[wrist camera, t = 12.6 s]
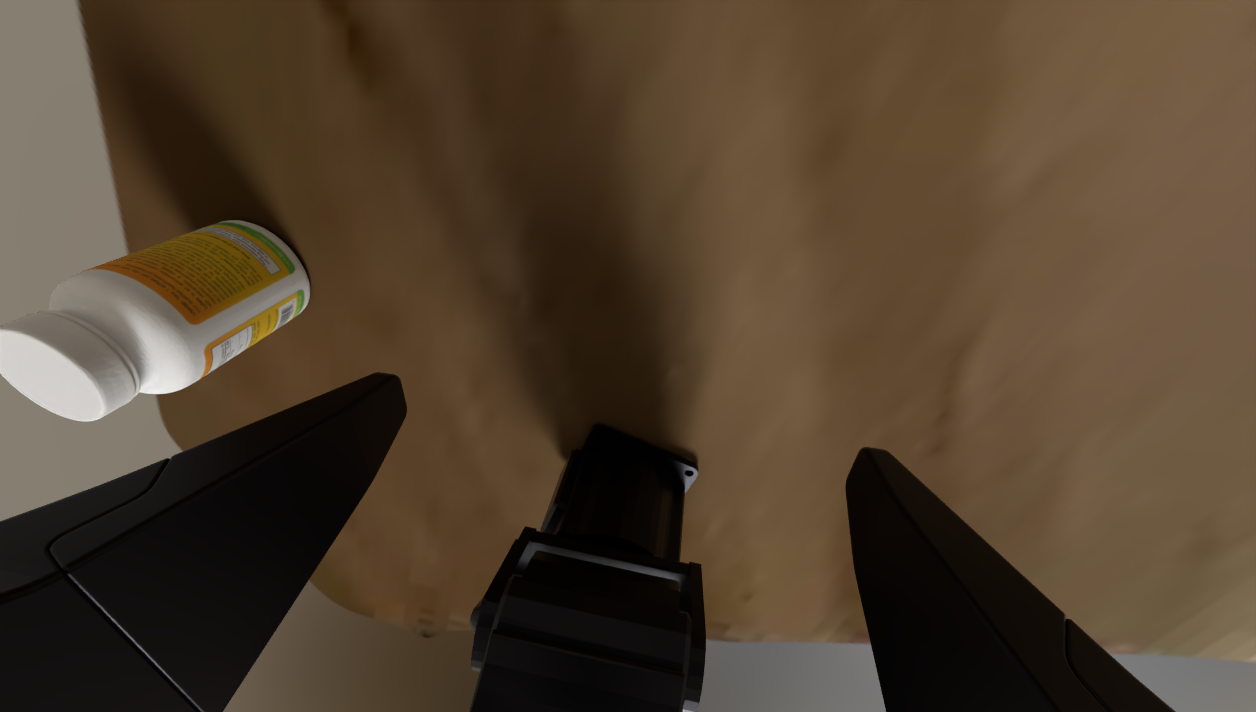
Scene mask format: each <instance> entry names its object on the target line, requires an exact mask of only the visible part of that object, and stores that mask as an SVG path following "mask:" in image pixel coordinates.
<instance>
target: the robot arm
mask: <svg viewBox="0 0 1256 712" xmlns="http://www.w3.org/2000/svg"><path fill="white" fill-rule="evenodd" d="M406 413H407V405H406V401H405V397H404V393H403V388H402V384H401V381H400V379H399V377H398V376H396V375H394V374H387V373H380V372H377V373H373V374H371V375H369V376H366V377H364V378H361V379H359V380H356V381H354V382H351V383H349V384H347V385H344V386H342V387H339V388H337V389H334V390H332V391H330V392H327V393H325V394H322V395H320V396H317V397H315V398H312V399H310V400H308V401H305V402H303V403H300V404H298V405H295V406H293V407H291V408H288V409H286V410H283V411H281V412H278V413H276V414H273V415H271V416H269V417H266V418H264V419H261V420H259V421H256V422H254V423H252V424H249V425H247V426H244V427H242V428H239V429H237V430H234V431H232V432H230V433H227V434H225V435H222V436H220V437H217V438H215V439H212V440H210V441H208V442H205V443H203V444H200V445H198V446H195V447H193V448H191V449H188V450H186V451H183V452H181V453H178V454H176V455H174V456H172V457H171V459H169V458H166V459H164V460H161V461H159V462H157V463H154V464H151V465H149V466H147V467H144V468H142V469H139V470H137V471H134V472H132V473H129V474H127V475H124V476H122V477H119V478H116V479H114V480H111V481H109V482H107V483H104V484H101V485H99V486H96V487H94V488H91V489H88V490H85V491H83V492H80V493H77V494H74V495H72V496H69V497H66V498H64V499H61V500H58V501H56V502H53V503H50V504H47V505H45V506H42V507H39V508H36V509H34V510H31V511H28V512H25V513H22V514H20V515H17V516H14V517H11V518H9V519H6V520H3V521H0V712H223V711H224V709H225V707H226V706H227V704H228V703H229V701H230V700H231V698H232V697H233V695H234V693H235V692H236V691H237V689H238V687H239V686H240V684H241V683H242V681H243V680H244V678H245V677H246V675H247V674H248V672H249V671H250V669H251V667H252V666H253V664H254V663H255V661H256V660H257V658H258V657H259V655H260V654H261V652H262V651H263V649H264V648H265V646H266V645H267V643H268V642H269V640H270V638H271V637H272V635H273V634H274V632H275V631H276V629H277V628H278V626H279V625H280V623H281V622H282V620H283V618H284V617H285V615H286V614H287V612H288V610H289V609H290V608H291V606H292V605H293V603H294V601H295V600H296V599H297V597H298V595H299V594H300V592H301V591H302V589H303V588H304V586H305V585H306V583H307V582H308V580H309V579H310V577H311V576H312V574H313V573H314V571H315V569H316V568H317V566H318V565H319V563H320V562H321V560H322V559H323V557H324V556H325V554H326V553H327V551H328V550H329V548H330V546H331V545H332V543H333V542H334V540H335V539H336V537H337V536H338V534H339V533H340V531H341V530H342V528H343V527H344V525H345V523H346V522H347V520H348V519H349V517H350V516H351V514H352V513H353V511H354V510H355V508H356V507H357V505H358V504H359V502H360V500H361V499H362V497H363V496H364V494H365V493H366V491H367V490H368V488H369V486H370V485H371V483H372V481H373V480H374V478H375V476H376V474H377V472H378V470H379V468H380V467H381V465H382V463H383V461H384V459H385V457H386V455H387V453H388V451H389V449H390V447H391V445H392V443H393V441H394V439H395V437H396V435H397V433H398V431H399V429H400V427H401V425H402V423H403V421H404V419H405V417H406ZM597 432H598V433H601V434H602V435H599V434H597ZM687 470H691V471H687ZM697 476H698V466H697V465H696V464H695V463H693V462H691V461H688V460H686V459H684V458H681V457H679V456H676V455H674V454H671V453H669V452H667V451H664V450H662V449H659V448H657V447H654V446H652V445H650V444H647V443H645V442H642V441H640V440H638V439H635V438H633V437H630V436H628V435H625V434H623V433H621V432H618V431H616V430H613V429H611V428H608V427H606V426H604V425H600V424H597V425H594V426H593V427H592V428H591V430H590V432H589V434H588V436H587V438H586V440H585V442H584V444H583V446H582V448H581V450H578V449H575V450H573V451H572V452H571V454H570V456H569V458H568V460H567V462H566V465H565V467H564V469H563V471H562V473H561V475H560V477H559V480H558V483H557V486H556V488H555V491H554V494H553V497H552V499H551V502H550V505H549V507H548V510H547V513H546V516H545V518H544V521H543V524H542V527H541V532H540V531H536V529H535V528H530V527H526V526H525V528H524V530H523V531H522V533H521V535H520V537H519V539H516V540H515V542H514V543H513V545H512V547H511V549H510V550H509V552H508V554H507V556H506V558H505V559H504V561H503V563H502V565H501V567H500V568H499V570H498V572H497V574H496V576H495V577H494V579H493V581H492V583H491V585H490V586H489V588H488V590H487V592H486V594H485V595H484V597H483V598H482V599H481V601H480V602H479V603H478V604H477V606H476V607H475V608H474V610H473V612H472V614H471V618H470V625H471V627H472V629H473V632H474V634H475V635H474V644H473V650H472V658H471V667H472V670H473V671H477V672H480V674H479V678H478V681H477V685H476V689H475V693H474V697H473V700H472V704H471V708H470V712H697V710H698V706H699V701H700V696H701V690H702V683H703V675H704V665H705V652H706V629H705V614H704V600H703V585H702V571H701V564H698V563H693V562H689V564H688V563H684V562H680V552H681V538H682V524H683V511H684V497H685V493H686V491H687V490H688V489H689V487H690V486H691V484H692V483H693V482H694V480H695V479H696V478H697ZM846 499H847V508H848V518H849V527H850V537H851V547H852V556H853V563H854V569H855V574H856V580H857V584H858V589H859V593H860V597H861V602H862V606H863V611H864V615H865V620H866V624H867V628H868V633H869V637H870V642H871V646H872V651H873V655H874V659H875V664H876V668H877V673H878V677H879V682H880V686H881V691H882V695H883V699H884V704H885V708H886V712H1175V711H1174V710H1173V709H1172V708H1170V707H1169V706H1168V705H1167V704H1166V703H1165V702H1163V701H1162V700H1161V699H1160V698H1159V697H1157V696H1156V695H1155V694H1154V693H1153V692H1152V691H1150V690H1149V689H1148V688H1147V687H1146V686H1145V685H1143V684H1142V683H1141V682H1140V681H1139V680H1137V679H1136V678H1135V677H1134V676H1133V675H1132V674H1131V673H1130V672H1128V671H1127V670H1126V669H1125V668H1124V667H1123V666H1122V665H1121V664H1120V663H1118V662H1117V661H1116V660H1115V659H1114V658H1113V657H1112V656H1111V655H1110V654H1108V653H1107V652H1106V651H1105V650H1104V649H1103V648H1102V647H1101V646H1099V645H1098V644H1097V643H1096V642H1095V641H1094V640H1093V639H1092V638H1091V637H1090V636H1088V635H1087V634H1086V633H1085V632H1084V631H1083V630H1082V629H1081V628H1080V627H1079V626H1078V625H1077V624H1075V623H1074V622H1073V621H1072V620H1071V619H1066V615H1065V614H1064V613H1063V612H1062V611H1061V610H1060V609H1059V608H1058V607H1057V606H1056V605H1055V604H1053V603H1052V602H1051V601H1050V600H1049V599H1048V598H1047V597H1046V596H1045V595H1044V594H1043V593H1042V592H1040V591H1039V590H1038V589H1037V588H1036V587H1035V586H1034V585H1033V584H1032V583H1031V582H1030V581H1028V580H1027V579H1026V578H1025V577H1024V576H1023V575H1022V574H1021V573H1020V572H1019V571H1018V570H1017V569H1015V568H1014V567H1013V566H1012V565H1011V564H1010V563H1009V562H1008V561H1007V560H1006V559H1005V558H1003V557H1002V556H1001V555H1000V554H999V553H998V552H997V551H996V550H995V549H994V548H993V547H991V546H990V545H989V544H988V543H987V542H986V541H985V540H984V539H983V538H982V537H981V536H980V535H978V534H977V533H976V532H975V531H974V530H973V529H972V528H971V527H970V526H969V525H968V524H966V523H965V522H964V521H963V520H962V519H961V518H960V517H959V516H958V515H957V514H956V513H955V512H953V511H952V510H951V509H950V508H949V507H948V506H947V505H946V504H945V503H944V502H943V501H941V500H940V499H939V498H938V497H937V496H936V495H935V494H934V493H933V492H932V491H931V490H930V489H928V488H927V487H926V486H925V485H924V484H923V483H922V482H921V481H920V480H919V479H918V478H916V477H915V476H914V475H913V474H912V473H911V472H910V471H909V470H908V469H907V468H906V467H905V466H903V465H902V464H901V463H900V462H899V461H898V460H897V459H896V458H895V457H894V456H893V455H891V454H890V453H889V452H888V451H886V450H883V449H877V448H870V447H864V448H862V449H861V450H860V451H859V453H858V455H857V457H856V459H855V461H854V463H853V466H852V468H851V470H850V472H849V474H848V477H847V480H846Z"/></svg>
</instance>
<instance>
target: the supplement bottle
mask: <svg viewBox="0 0 1256 712" xmlns="http://www.w3.org/2000/svg"><path fill="white" fill-rule="evenodd" d="M309 297H310V284H309V280H308V277H307V274H306V272H305V270H304V268H303V266H302V264H301V262H300V261H299V259H298V258H297V256H296V255H295V254H294V253H293V251H292V250H291V249H290V248H289V247H288V246H287V245H286V244H285V243H284V242H283V241H282V240H281V239H279V238H278V237H277V236H276V235H274V234H273V233H271V232H270V231H268V230H266V229H265V228H263V227H260V226H258V225H256V224H253V223H249V222H245V221H240V220H228V221H222V222H219V223H216V224H212V225H209V226H207V227H204V228H201V229H198V230H196V231H193V232H190V233H188V234H185V235H182V236H179V237H176V238H174V239H171V240H168V241H166V242H163V243H160V244H157V245H155V246H152V247H149V248H146V249H144V250H141V251H138V252H135V253H133V254H130V255H127V256H124V257H121V258H119V259H116V260H113V261H110V262H107V263H105V264H102V265H99V266H96V267H94V268H91V269H88V270H85V271H83V272H80V273H78V274H76V275H74V276H71V277H69V278H68V279H66V280H64V281H63V282H62V283H60V284H59V285H58V286H57V287H56V288H55V290H54V291H53V293H52V296H51V299H50V305H49V308H50V309H49V310H43V311H39V312H36V313H32V314H28V315H26V316H24V317H21V318H19V319H17V320H14V321H12V322H9V323H7V324H5V325H2V326H0V374H2V376H3V377H4V378H5V379H6V380H7V381H8V382H9V383H10V384H11V385H13V386H14V387H15V388H16V389H17V390H18V391H20V392H21V393H22V394H24V395H25V396H26V397H28V398H29V399H30V400H32V401H33V402H35V403H36V404H38V405H40V406H42V407H43V408H45V409H47V410H49V411H51V412H53V413H55V414H58V415H60V416H63V417H66V418H69V419H73V420H78V421H93V420H97V419H100V418H102V417H103V416H105V415H107V414H108V413H110V412H112V411H114V410H116V409H117V408H119V407H121V406H123V405H125V404H127V403H128V402H130V401H131V400H132V399H133V398H134V397H135V396H136V395H137V394H138V393H139V392H142V393H149V394H165V393H171V392H175V391H178V390H181V389H183V388H185V387H187V386H189V385H191V384H192V383H194V382H196V381H198V380H199V379H201V378H202V377H204V376H205V375H207V374H208V373H210V372H211V371H213V370H215V369H216V368H218V367H219V366H221V365H222V364H224V363H225V362H227V361H228V360H230V359H231V358H233V357H235V356H236V355H238V354H239V353H241V352H242V351H244V350H245V349H247V348H249V347H250V346H252V345H253V344H255V343H256V342H258V341H259V340H261V339H262V338H264V337H266V336H267V335H269V334H270V333H272V332H273V331H275V330H277V329H278V328H280V327H281V326H283V325H284V324H286V323H287V322H289V321H290V320H292V319H293V318H294V317H296V316H297V315H298V314H300V313H301V312H302V311H303V310H304V309H305V307H306V306H307V304H308V301H309Z"/></svg>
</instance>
